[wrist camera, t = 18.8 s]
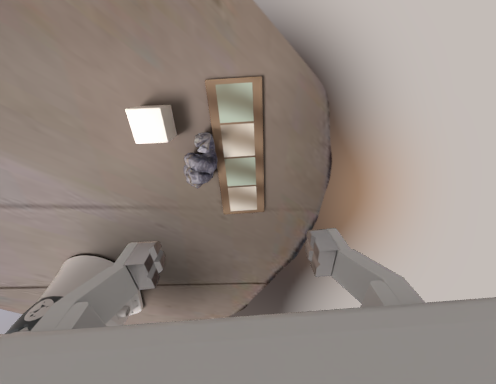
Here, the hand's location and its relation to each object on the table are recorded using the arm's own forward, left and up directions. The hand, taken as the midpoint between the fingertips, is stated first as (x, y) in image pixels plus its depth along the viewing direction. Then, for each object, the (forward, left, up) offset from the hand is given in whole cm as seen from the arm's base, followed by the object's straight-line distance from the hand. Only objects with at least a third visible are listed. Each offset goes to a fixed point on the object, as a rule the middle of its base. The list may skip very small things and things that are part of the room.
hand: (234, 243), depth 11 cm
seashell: (+2, +3, -21) cm, 21 cm away
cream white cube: (+4, +12, -24) cm, 27 cm away
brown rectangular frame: (-3, 0, -24) cm, 24 cm away
